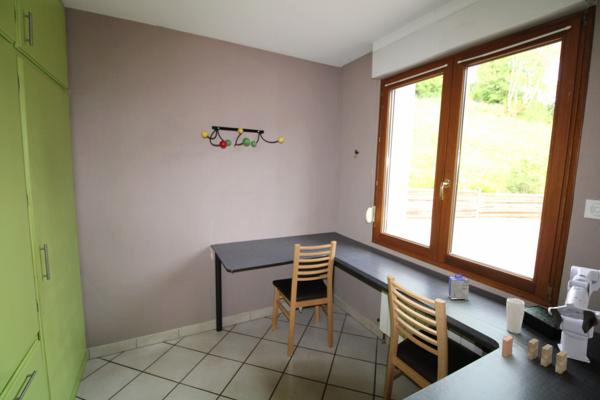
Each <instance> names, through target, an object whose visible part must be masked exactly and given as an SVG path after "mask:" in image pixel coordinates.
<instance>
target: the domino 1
mask: <svg viewBox="0 0 600 400" xmlns="http://www.w3.org/2000/svg"><path fill="white" fill-rule="evenodd" d="M539 342H540V341H539V339H536V338H532V339H531V340H529V341H528V342H527V353H526V355H527V356H526V358H527V359H528V360H530V361H533V360H535V359H536V358H537V357H538V354H539V344H540V343H539Z"/></svg>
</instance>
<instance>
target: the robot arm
mask: <svg viewBox="0 0 600 400" xmlns="http://www.w3.org/2000/svg"><path fill="white" fill-rule="evenodd" d="M569 277H570V278H569V280H568V282H567V294H566V298H565V302H564V305H561V306H554V307H548V310H547V312H548V314H549V315H551V316H552V319H553V326H554V328H555V330H556V331H559V330H562V331H561V336H560V337H561V338H560V343H557V347H558V349H559V352H560V351H562V350H563V351H565V352H568V354H567V359H572V360H576V361H580V362H583V363H584V362H585V363H588V364H590V363H591V361H590V359H589V358H588V356H587V350H588V349H587V348H588V340H589V339H591V338H593V336H594V330H595V329H594V328H595V327H596V326H599V325H598V324H599V321H598V320H600V310H599V311H598V310H592V309H589V308H588V306H589V301H590V297H591V295H592V293H593V292H596V291H599V289H600V269H594V268H590V267H589V268H588V267H583V266H576V265H575V264H574V265H572V266H571V267H570V275H569Z"/></svg>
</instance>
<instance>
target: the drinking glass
mask: <svg viewBox="0 0 600 400" xmlns="http://www.w3.org/2000/svg"><path fill="white" fill-rule="evenodd" d="M505 305H506V307H505V310H506V311H505V312H506V313H505V315H506V330H507V331H508V332H509V333H511V334H514V335H515V334H516V335H519V334H521V332H522V324H523V320H524V316H525V301H523V300H521V299H519V298H513V297H508V298H507V299H506V304H505Z"/></svg>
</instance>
